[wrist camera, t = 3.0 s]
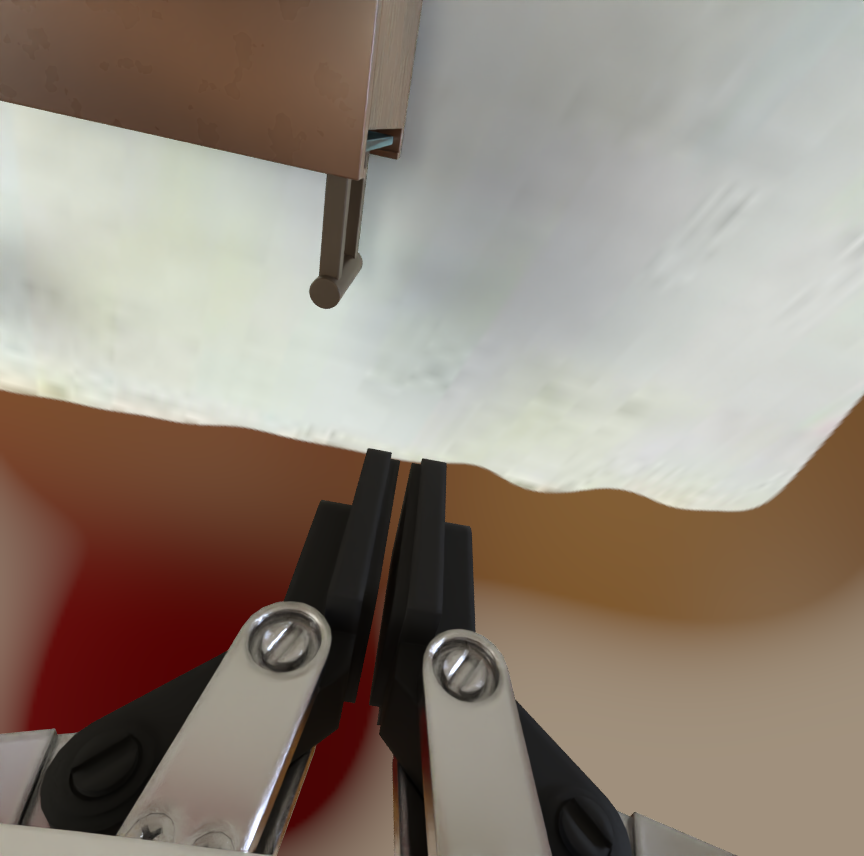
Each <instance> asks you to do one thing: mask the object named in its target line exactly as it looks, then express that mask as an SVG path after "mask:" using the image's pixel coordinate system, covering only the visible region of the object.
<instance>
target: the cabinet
mask: <svg viewBox="0 0 864 856" xmlns="http://www.w3.org/2000/svg"><path fill="white" fill-rule="evenodd" d="M422 2H423V0H0V101H4V102H9V103H13V104H18V105H22V106H27V107H31V108H36V109H40V110H45V111H49V112H53V113H58V114H62V115H67V116H71V117H76V118H80V119H85V120H89V121H94V122H98V123H102V124H107V125H111V126H116V127H120V128H125V129H129V130H134V131H138V132H143V133H147V134H152V135H156V136H160V137H165V138H169V139H174V140H178V141H183V142H187V143H192V144H196V145H201V146H205V147H209V148H214V149H218V150H223V151H227V152H232V153H236V154H241V155H245V156H250V157H254V158H258V159H263V160H267V161H272V162H276V163H281V164H285V165H290V166H294V167H299V168H303V169H308V170H312V171H316V172H321V173H325V174H330V175H334V176H339V177H343V178H348V179H352V180H357V181H358V180H360V179H362V178H364V177H366V173H367V168H366V167H364V161H365V152H366V143H367V135H368V130H369V131H373V132H378V133H382V134H386V135H391V136H393V143H392V145H388V146H385V147H381V148H377V149H374V150H370V152H369V153H370V154H374V155H379V156H383V157H387V158H392V159H396V160H397V159H399V158H400V154H401V147H402V141H403V134H404V127H405V120H406V113H407V106H408V99H409V92H410V85H411V78H412V71H413V65H414V58H415V51H416V44H417V37H418V30H419V23H420V16H421V9H422Z"/></svg>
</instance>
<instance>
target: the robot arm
mask: <svg viewBox="0 0 864 856" xmlns="http://www.w3.org/2000/svg"><path fill="white" fill-rule="evenodd" d="M391 454H392V453H391V452H386V451H381V450H375V449H370V448H368V450H367V453H366V457H365V461H364V464H363V468H362V471H361V475H360V479H359V482H358V486H357V489H356V493H355V497H354V500H353V504H352V505H347V504H342V503H336V502H330V501H325V500H321V502H320V504H319V506H318V508H317V511H316V514H315V517H314V519H313V523H312V525H311V528H310V530H309V533H308V536H307V539H306V541H305V544H304V547H303V550H302V552H301V555H300V558H299V561H298V563H297V566H296V569H295V572H294V574H293V577H292V580H291V583H290V585H289V588H288V591H287V594H286V596H285V599H284V602H278V603H274V604H272V605H269V606H266V607H264V608H262V609H261V610H259V611H258V612H256V613H255V614H254V615H252V616H251V617H250V619H249V620H248V621H247V622H246V623H245V625H244V626H243V627H242V629H241V631H240V632H239V634H238V635H237V637H236V639H235V640H234V642H233V644H232V645H231V647H230V649H229V650H228V651H226V652H224V653H222V654H221V655H219V656H217V657H215V658H213V659H211V660H209V661H207V662H205V663H204V664H202V665H200V666H198V667H196V668H194V669H192V670H190V671H189V672H187V673H185V674H183V675H181V676H179V677H177V678H176V679H174V680H172V681H170V682H168V683H166V684H164V685H162V686H161V687H159V688H157V689H155V690H153V691H151V692H149V693H147V694H145V695H144V696H142V697H140V698H138V699H136V700H134V701H132V702H130V703H129V704H127V705H125V706H123V707H121V708H119V709H117V710H115V711H114V712H112V713H110V714H108V715H106V716H104V717H102V718H101V719H99V720H97V721H95V722H93V723H91V724H90V725H88V726H87V727H85V728H84V729H83V730H81V731H80V732H78V733H71V734H62V735H57V733H56V730H55V729H50V730H49V729H48V730H38V731H29V732H18V733H8V734H0V856H276V855H277V852H278V850H279V847H280V844H281V842H282V839H283V836H284V833H285V831H286V828H287V825H288V822H289V820H290V817H291V814H292V811H293V809H294V806H295V803H296V801H297V798H298V795H299V792H300V790H301V787H302V784H303V781H304V778H305V776H306V773H307V770H308V767H309V765H310V762H311V759H312V757H313V754H314V751H315V746H316V744H318V743H319V742H321V741H322V740H323V739H325V738H326V737H327V736H329V735H330V734H331V733H333V732H334V731H335V730H337V729H338V727H339V721H340V718H341V712H342V707H343V702H344V701H345V702H352V703H355V700H356V696H357V691H358V686H359V682H360V677H361V672H362V667H363V663H364V658H365V653H366V648H367V643H368V639H369V634H370V629H371V625H372V620H373V615H374V610H375V605H376V599H377V594H378V589H379V582H380V577H381V571H382V565H383V559H384V553H385V547H386V541H387V536H388V529H389V523H390V518H391V511H392V506H393V500H394V494H395V488H396V481H397V476H398V470H399V464H400V461H399V460H394V459H391ZM446 467H447V466H446V463H445V462H439V461H434V460H429V459H422V461H421V465H420V464H415V463H412V465H411V469H410V474H409V478H408V483H407V487H406V492H405V496H404V501H403V505H402V510H401V515H400V519H399V524H398V529H397V533H396V538H395V542H394V547H393V551H392V557H391V563H390V569H389V576H388V583H387V589H386V596H385V602H384V609H383V616H382V622H381V629H380V635H379V642H378V649H377V656H376V662H375V668H374V675H373V682H372V688H371V695H370V702H369V705H372V706H378V707H379V714H378V722H377V725H380V733H379V735H380V736H381V738H382V739H383V740H384V742H385V743H386V745H387V746H388V747H389V749H390V750H391V751H392V753H393V759H392V781H393V820H394V856H736V855H734V854H732V853H730V852H727V851H725V850H722V849H720V848H718V847H716V846H713V845H711V844H708V843H706V842H704V841H702V840H699V839H697V838H694V837H692V836H690V835H687V834H685V833H683V832H681V831H678V830H676V829H674V828H671V827H669V826H667V825H664V824H662V823H660V822H657V821H655V820H653V819H650V818H648V817H646V816H643V815H641V814H638V813H636V812H634V813H633V814H632V815H631V816H628V815H626V814H623V813H621V812H619V811H617V810H616V809H615V807H614V806H613V805H612V804H611V802H610V801H609V800H608V798H607V797H606V796H605V795H604V794H603V793H602V792H601V791H600V789H599V788H598V787H597V786H596V785H595V784H594V783H593V782H592V781H591V780H590V779H589V778H588V777H587V776H586V775H585V773H584V772H583V771H582V770H581V769H580V768H579V767H578V766H577V765H576V764H575V763H574V762H573V761H572V760H571V758H569V756H568V755H567V754H566V753H565V752H564V751H563V750H562V749H561V748H560V747H559V746H558V745H557V744H556V742H555V741H554V740H553V739H552V738H551V737H550V736H549V735H548V734H547V733H546V732H545V731H544V730H543V729H542V728H541V726H540V725H538V723H537V722H536V721H535V720H534V719H533V718H532V717H531V716H530V715H529V714H528V713H527V711H525V709H524V708H522V706H521V705H520V704H519V703H518V702H517V701H516V700H515V697H514V692H513V689H512V684H511V680H510V676H509V671H508V668H507V665H506V663H505V660H504V658H503V656H502V654H501V653H500V652H499V650H498V649H497V648H496V646H495V645H494V644H492V643H491V642H490V641H489V640H488V639H486V638H485V637H484V636H482V635H480V634H477V633H475V608H474V585H473V584H474V582H473V556H472V532H471V528H470V526H464V525H458V524H453V523H447V522H445V498H446Z"/></svg>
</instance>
